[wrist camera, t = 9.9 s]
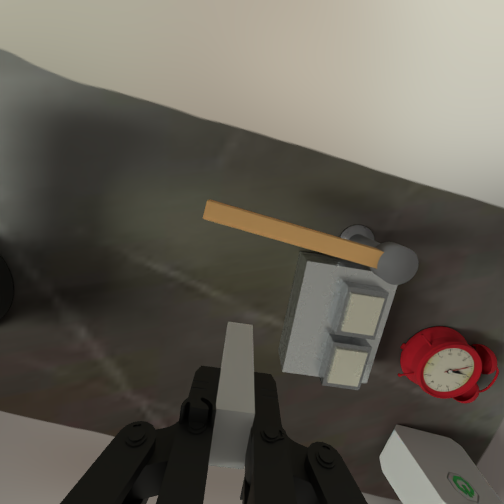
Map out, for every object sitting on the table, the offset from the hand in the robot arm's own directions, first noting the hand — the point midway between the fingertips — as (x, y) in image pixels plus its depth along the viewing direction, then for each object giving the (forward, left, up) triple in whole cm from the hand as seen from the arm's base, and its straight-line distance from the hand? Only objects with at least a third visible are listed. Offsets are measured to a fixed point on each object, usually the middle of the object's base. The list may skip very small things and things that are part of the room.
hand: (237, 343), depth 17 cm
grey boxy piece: (+14, -4, -22) cm, 26 cm away
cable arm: (+6, +5, -22) cm, 23 cm away
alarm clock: (+34, -12, -23) cm, 42 cm away
